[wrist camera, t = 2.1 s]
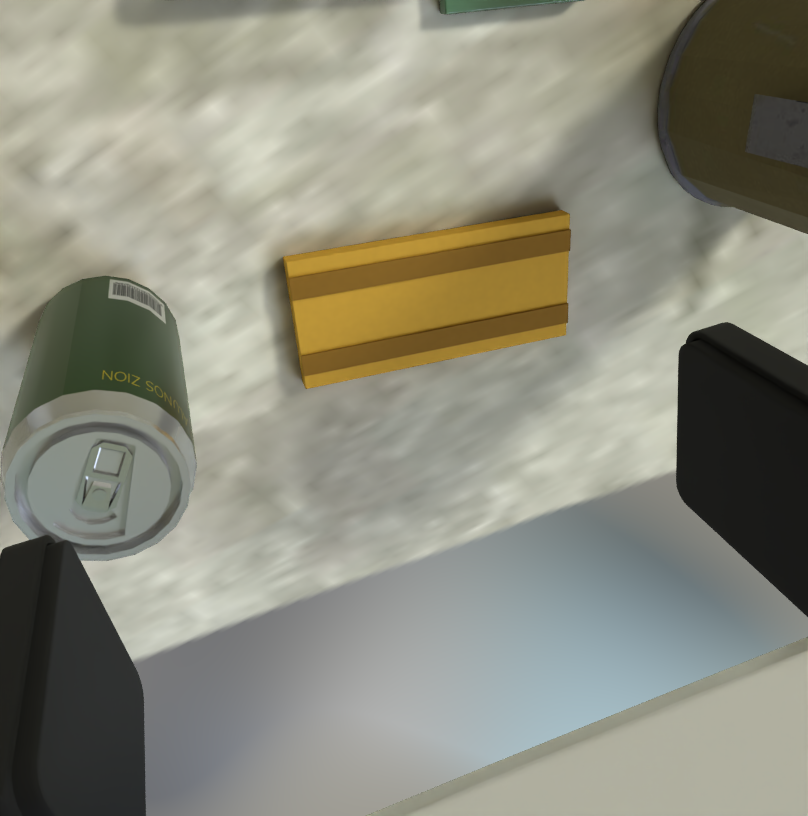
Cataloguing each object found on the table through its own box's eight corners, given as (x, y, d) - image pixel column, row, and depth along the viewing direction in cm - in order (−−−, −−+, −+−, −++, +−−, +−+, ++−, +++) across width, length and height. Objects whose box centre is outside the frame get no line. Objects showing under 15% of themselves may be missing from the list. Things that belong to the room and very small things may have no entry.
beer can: (56, 252, 30) (18, 384, 20) (194, 292, 32) (223, 430, 22) (25, 374, 32) (-25, 553, 22) (158, 404, 34) (169, 578, 24)
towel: (302, 381, 36) (306, 390, 35) (282, 256, 33) (286, 262, 32) (558, 329, 38) (567, 336, 38) (562, 209, 36) (571, 214, 35)
